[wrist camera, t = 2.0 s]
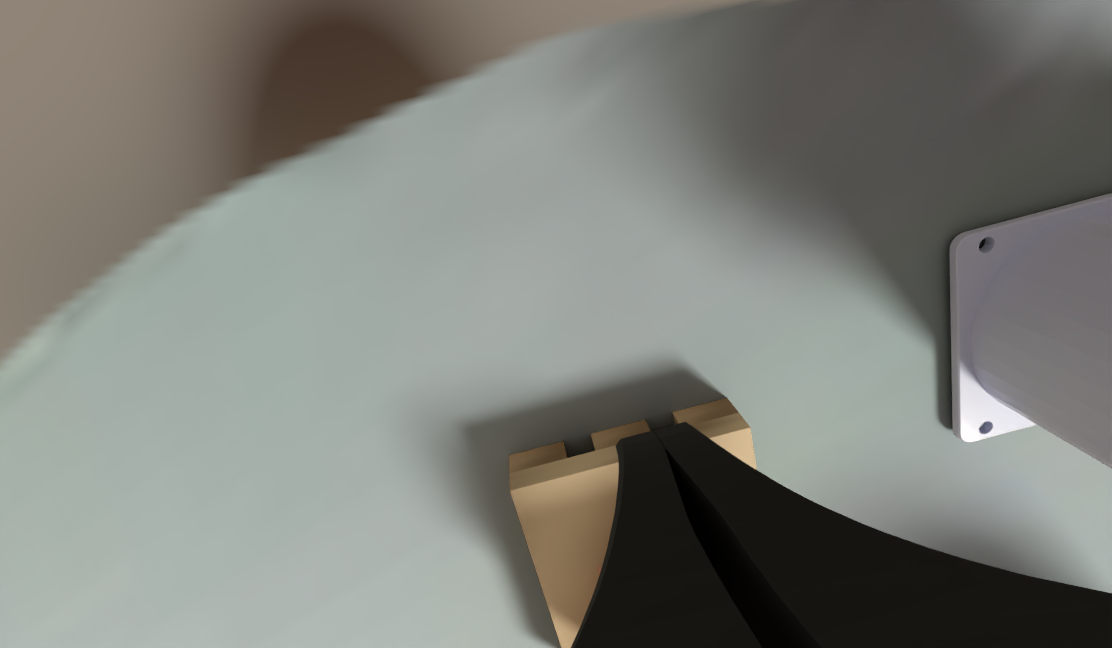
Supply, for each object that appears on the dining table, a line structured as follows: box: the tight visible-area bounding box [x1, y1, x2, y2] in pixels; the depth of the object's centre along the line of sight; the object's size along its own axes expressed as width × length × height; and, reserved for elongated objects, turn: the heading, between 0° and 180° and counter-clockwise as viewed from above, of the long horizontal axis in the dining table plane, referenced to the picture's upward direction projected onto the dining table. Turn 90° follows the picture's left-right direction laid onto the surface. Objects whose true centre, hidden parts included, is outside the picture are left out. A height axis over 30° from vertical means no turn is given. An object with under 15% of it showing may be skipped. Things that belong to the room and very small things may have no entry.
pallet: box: [509, 398, 757, 648], centre depth 22 cm, size 8×10×2 cm
